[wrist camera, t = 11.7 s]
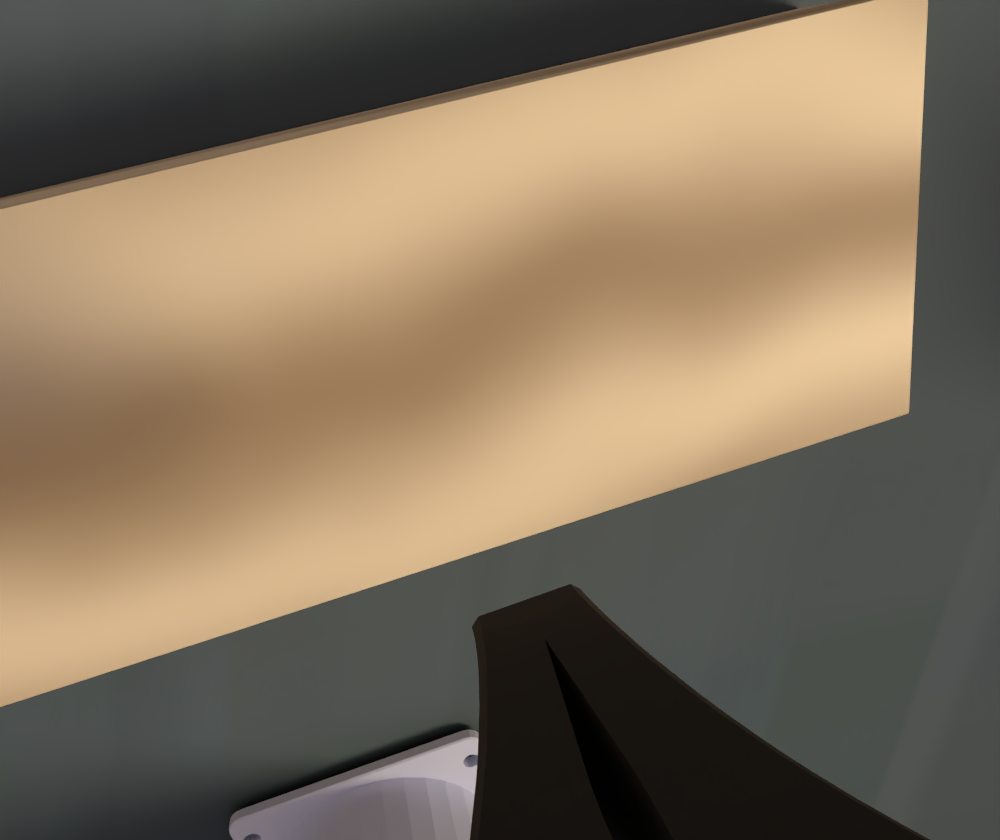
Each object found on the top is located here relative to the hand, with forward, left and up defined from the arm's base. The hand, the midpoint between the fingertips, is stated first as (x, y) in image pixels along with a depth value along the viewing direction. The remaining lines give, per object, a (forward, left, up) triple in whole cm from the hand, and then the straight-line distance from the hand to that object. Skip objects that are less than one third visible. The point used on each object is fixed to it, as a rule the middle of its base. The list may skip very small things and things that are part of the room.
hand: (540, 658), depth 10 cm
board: (+2, +1, -10) cm, 11 cm away
